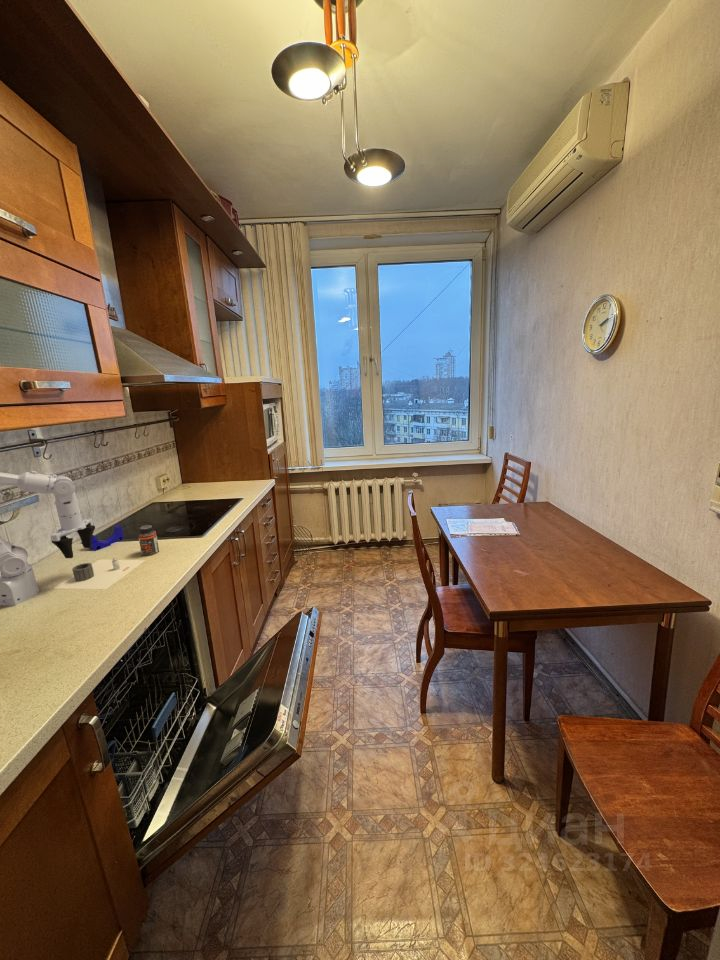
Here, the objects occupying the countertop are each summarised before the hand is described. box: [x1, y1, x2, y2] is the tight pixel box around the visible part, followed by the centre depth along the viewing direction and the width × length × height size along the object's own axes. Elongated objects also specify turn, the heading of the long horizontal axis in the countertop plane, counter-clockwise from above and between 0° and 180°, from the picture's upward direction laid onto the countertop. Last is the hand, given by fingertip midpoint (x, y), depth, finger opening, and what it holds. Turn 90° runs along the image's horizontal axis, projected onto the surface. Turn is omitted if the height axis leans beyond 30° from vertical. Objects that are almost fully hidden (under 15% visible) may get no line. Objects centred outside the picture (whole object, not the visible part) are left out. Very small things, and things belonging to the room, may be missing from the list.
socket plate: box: [53, 557, 146, 590], centre depth 129 cm, size 20×18×5 cm
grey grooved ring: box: [72, 562, 94, 581], centre depth 126 cm, size 5×5×4 cm
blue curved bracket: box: [88, 524, 125, 552], centre depth 155 cm, size 12×4×6 cm, turn 150°
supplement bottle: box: [138, 525, 160, 557], centre depth 143 cm, size 6×6×11 cm
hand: (78, 552), depth 125 cm, fingers open, 7 cm apart
